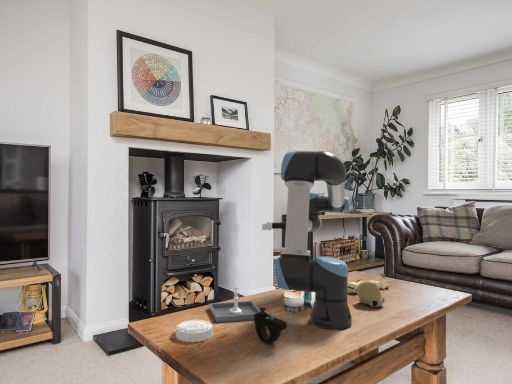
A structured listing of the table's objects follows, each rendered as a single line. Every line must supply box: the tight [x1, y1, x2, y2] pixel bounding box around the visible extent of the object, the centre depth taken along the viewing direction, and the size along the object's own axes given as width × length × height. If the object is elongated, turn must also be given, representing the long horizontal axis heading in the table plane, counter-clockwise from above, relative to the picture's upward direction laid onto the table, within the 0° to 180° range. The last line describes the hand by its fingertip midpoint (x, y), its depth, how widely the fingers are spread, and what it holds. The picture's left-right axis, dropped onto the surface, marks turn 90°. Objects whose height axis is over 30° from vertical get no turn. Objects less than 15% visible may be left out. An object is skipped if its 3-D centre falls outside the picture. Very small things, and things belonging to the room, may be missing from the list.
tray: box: [208, 300, 261, 324], centre depth 142 cm, size 16×18×2 cm
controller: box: [253, 307, 288, 344], centre depth 115 cm, size 4×12×10 cm, turn 43°
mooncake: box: [175, 319, 214, 343], centre depth 120 cm, size 12×12×4 cm
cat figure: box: [347, 272, 390, 294], centre depth 180 cm, size 10×9×25 cm
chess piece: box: [229, 286, 242, 314], centre depth 142 cm, size 5×5×10 cm
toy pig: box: [355, 279, 385, 308], centre depth 157 cm, size 10×12×11 cm
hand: (275, 228), depth 156 cm, fingers open, 13 cm apart
